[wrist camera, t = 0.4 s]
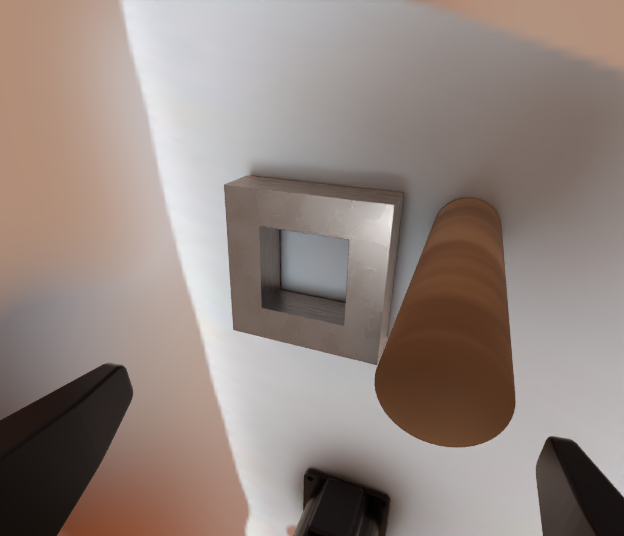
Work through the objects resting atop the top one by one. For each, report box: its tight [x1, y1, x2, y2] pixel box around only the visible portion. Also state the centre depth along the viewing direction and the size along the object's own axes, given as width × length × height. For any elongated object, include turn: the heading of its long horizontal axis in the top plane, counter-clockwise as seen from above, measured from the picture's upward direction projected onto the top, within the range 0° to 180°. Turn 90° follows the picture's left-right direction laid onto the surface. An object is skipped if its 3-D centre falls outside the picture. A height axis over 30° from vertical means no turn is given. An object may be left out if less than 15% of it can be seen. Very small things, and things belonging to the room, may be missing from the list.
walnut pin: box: [375, 198, 515, 447], centre depth 16 cm, size 3×3×13 cm
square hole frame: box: [224, 176, 403, 365], centre depth 24 cm, size 9×9×2 cm
